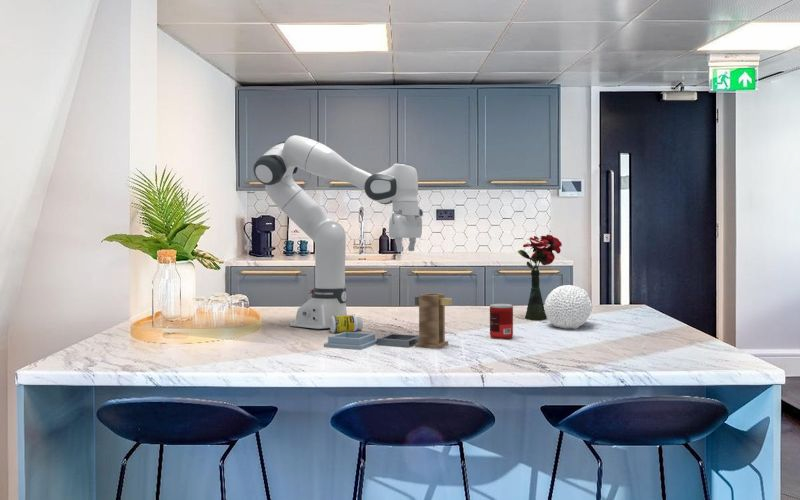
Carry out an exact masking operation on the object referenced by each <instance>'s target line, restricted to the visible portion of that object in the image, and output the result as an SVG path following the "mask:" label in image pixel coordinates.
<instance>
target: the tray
mask: <svg viewBox="0 0 800 500" xmlns="http://www.w3.org/2000/svg"><path fill="white" fill-rule="evenodd" d="M327 341H328V342H324V343H323V347H324V348H336V349H337V348H338V349H346V350H347V349H349V350H360V351H362V350H363V349H367V348H370V347H372V346H375V345H377V338H376V333H369V332H356V331H355V332H343V333H335V334H333V335H330V336H328V338H327Z"/></svg>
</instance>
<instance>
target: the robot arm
mask: <svg viewBox="0 0 800 500" xmlns="http://www.w3.org/2000/svg"><path fill="white" fill-rule="evenodd" d="M298 169H300V170H303V171H305V172H306V173H308V174H312V175H314V176H317V177H321V178H324V179H330V180H337V181H342V182H346V183H348V184H350V185H352V186H354V187H357V188H359V189H361V190H364V192H365V195H366V196H367V197H368V198H369V199H371V200H372V201H374V202H376V203H379V204H380V205H381V204H382V205H390V204H392V205H391V206H392V213H391V216H390V218H389V221H388V236H389V238H390V239H394V242H395V245H396V252H397V253H402V252H404V246H403V239H408V242H409V244H408V246H407V249H408V252H415V246H416V243H417V239H420V238H421V236H422V233H423V231H422V230H423V218H422V217H423V216H424V211H423V209H422V208H421V207H420V206H419V199H418V191H419V176H418V172H417V169H416V168H415V166H413V165H411V164H408V163H406V162H405V163H403V162H396V163H394V164H393V165H391V166H390V167H389V168H387V169H385V170H383V171H380V172H377V173H372V174H371V173H369V172H367V171H365V170H364V169H361V168H359V167H356V166H354V165H353V164H351V163H350V162H348V161H347V160H346V159H344V157H342V156H341V155H340V154H338V152H336V151H335V150H333V149H332V148H330V147H329V146H328V145H325V144H323V143H322V142H319V141H317V140H314V139H311V138H309V137H306V136H302V135H295V134H294V135H291V136H289V137H288V138H287V139H286V140H285V141H281V142H278V143H277V144H276V145H274V146H273V147H270V148H269V149H268V150H267V151H266V152H264V154H262V156H260V157H259V158H257V160H256V161H255V163H254V165H253V175H254V176H255V179H256V180H257V181H258V182H260V183H261V184H262V185H264V187H265V192H266V194H267V196H268V197H269V199H271V201H272V202H273V203H274V205H276V206H277V207H278V209H279V210H280V211H282V212H283V213H284V214H285V215H286V216H287V217H288V218H289V219H290V220H291V221H292V222H293V223H294V224H295V225H296V226H297V227H298V228H299V229H300V230H302V231H303V233H305V234H306V236H308V238H309V239H311V240H312V241H313V242H314V245H315V247H314V248H315V249H314V250H315V253H314V255H315V256H314V258H315V263H314V264H315V265H314V267H315V268H314V269H315V270H314V271H315V272H314V274H315V275H314V276H315V279H314V281H315V283H314V285H315V286H314V288H313V289H311V290H309V293H308V294H309V295H310V294H311V296H310V298H309V300H307V301H305V303H303V304H302V305H301V306H300V307H298V308H297V311H296V314H295V315H296V316H295V320H294V321H290V323H289V326H291V327H300V328H308V329H309V328H310V329H316V330H321V329H330V318H331V317H332V316H346V315H348V312H347V303H346V302H347V288H346V241H347V236H346V230H345V228H344V226H343V225H342V224H340V223H338V222H337V221H335V220H334V219H333V218H332V217H331V216H330V215H329V214H328V213H327V212H326V211H325V210H324V209H323V208H322V207H321V206H320V204H318V202H316V200H314V199H313V198H312V197H311V196H310V195H309V194H308V193H307V192H306V191H305V190H304V189H303V188H302V187H301V186H300V185H298V184H297V182H296V181H295V180H294V177H293V174H294V175H295V174H296V173H297V172H298Z"/></svg>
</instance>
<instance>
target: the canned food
mask: <svg viewBox="0 0 800 500" xmlns="http://www.w3.org/2000/svg"><path fill="white" fill-rule="evenodd" d="M513 335H514V306H513V304H509V303H494V304H492V303H491V304H490V305H489V337H490V338H491V339H496V340H508V339H512V338H513Z"/></svg>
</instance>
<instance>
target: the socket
mask: <svg viewBox="0 0 800 500" xmlns="http://www.w3.org/2000/svg"><path fill="white" fill-rule="evenodd" d="M376 340H377V344H376V345H377V346H386V347H387V346H388V347H399V348H400V347H401V348H411V347H413V346H415V344H416V343H418V342H419V334H418V335H417V334H415V335H414V334H403V333H401V334H399V333H389V334H386V335H383V336H380V337H378V338H376Z"/></svg>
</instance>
